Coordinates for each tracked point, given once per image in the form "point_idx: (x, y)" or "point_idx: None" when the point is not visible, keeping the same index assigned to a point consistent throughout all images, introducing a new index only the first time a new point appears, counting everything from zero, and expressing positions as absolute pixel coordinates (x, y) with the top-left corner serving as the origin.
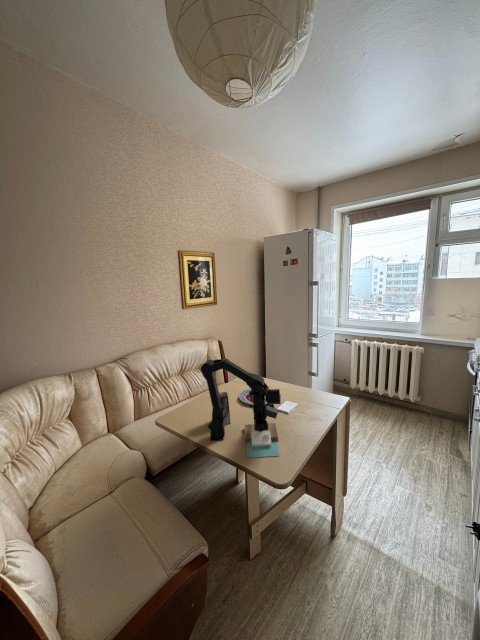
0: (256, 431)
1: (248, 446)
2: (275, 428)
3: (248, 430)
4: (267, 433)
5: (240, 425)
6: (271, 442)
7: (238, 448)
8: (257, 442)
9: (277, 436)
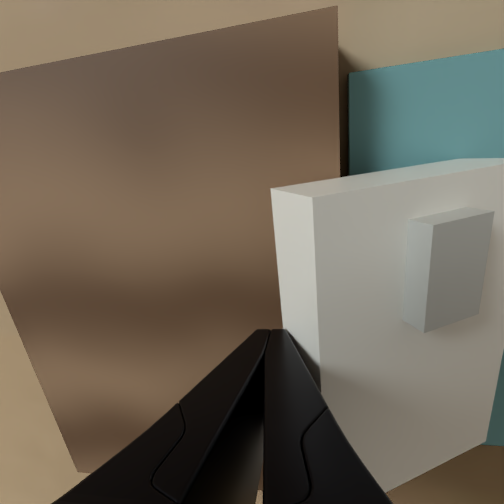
0: (189, 373)
1: None
2: (63, 76)
3: None
4: (362, 252)
5: (69, 457)
6: (372, 156)
7: (424, 497)
8: (478, 386)
9: (319, 21)
